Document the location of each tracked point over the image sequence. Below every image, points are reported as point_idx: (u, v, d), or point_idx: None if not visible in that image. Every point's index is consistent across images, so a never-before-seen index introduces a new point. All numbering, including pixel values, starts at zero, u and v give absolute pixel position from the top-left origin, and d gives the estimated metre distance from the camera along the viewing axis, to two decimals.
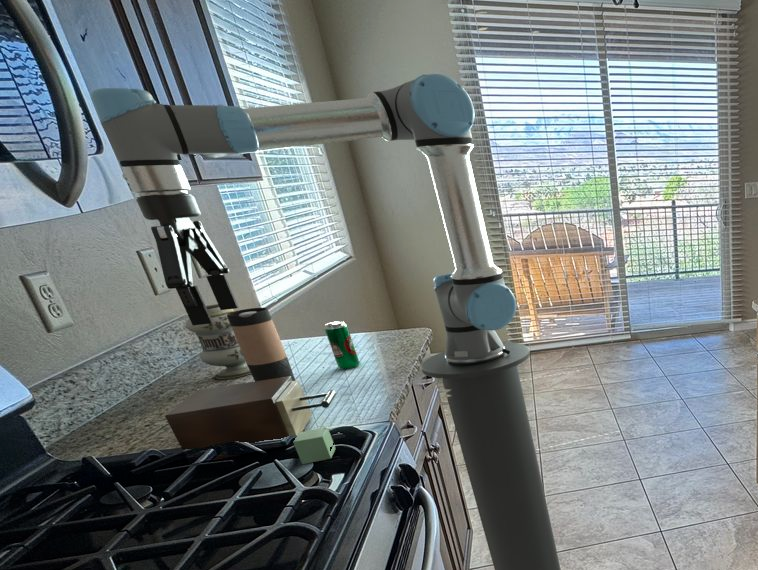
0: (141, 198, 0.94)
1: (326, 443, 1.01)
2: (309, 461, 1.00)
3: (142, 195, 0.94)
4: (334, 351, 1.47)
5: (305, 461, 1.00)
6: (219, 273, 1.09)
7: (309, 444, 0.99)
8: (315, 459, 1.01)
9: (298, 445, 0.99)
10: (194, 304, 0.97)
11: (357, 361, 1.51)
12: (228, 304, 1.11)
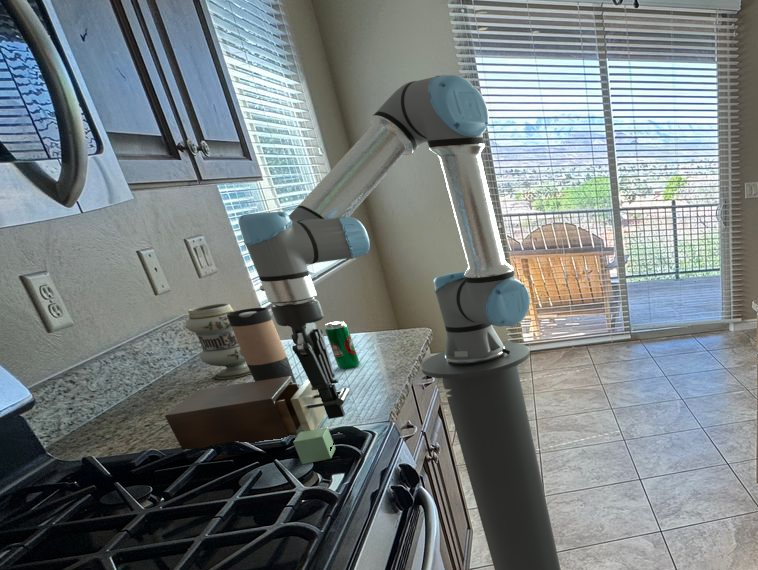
0: (277, 308, 1.02)
1: (326, 443, 1.01)
2: (309, 461, 1.00)
3: (277, 305, 1.02)
4: (334, 351, 1.47)
5: (305, 461, 1.00)
6: None
7: (309, 444, 0.99)
8: (315, 459, 1.01)
9: (298, 445, 0.99)
10: None
11: (357, 361, 1.51)
12: None
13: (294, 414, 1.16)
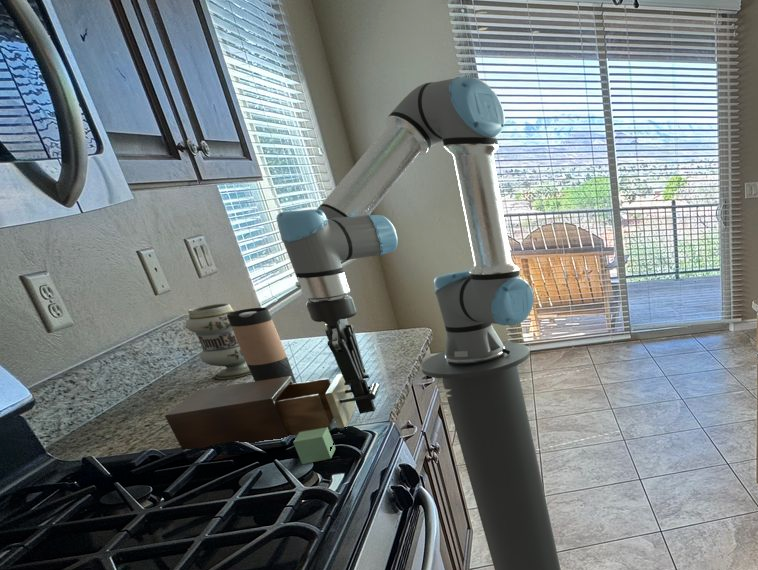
0: (312, 304, 1.04)
1: (326, 443, 1.01)
2: (309, 461, 1.00)
3: (313, 301, 1.04)
4: None
5: (305, 461, 1.00)
6: None
7: (309, 444, 0.99)
8: (315, 459, 1.01)
9: (298, 445, 0.99)
10: None
11: None
12: None
13: (325, 409, 1.18)
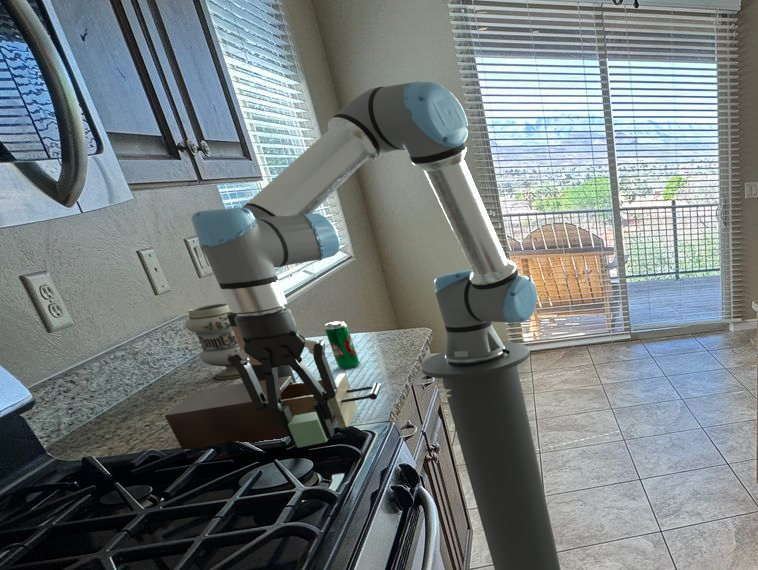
0: None
1: (321, 426, 1.00)
2: (304, 444, 0.99)
3: None
4: (334, 351, 1.47)
5: (300, 444, 0.99)
6: (317, 400, 0.99)
7: (304, 428, 0.98)
8: (310, 442, 0.99)
9: (293, 428, 0.98)
10: (279, 426, 0.98)
11: (357, 361, 1.51)
12: None
13: None
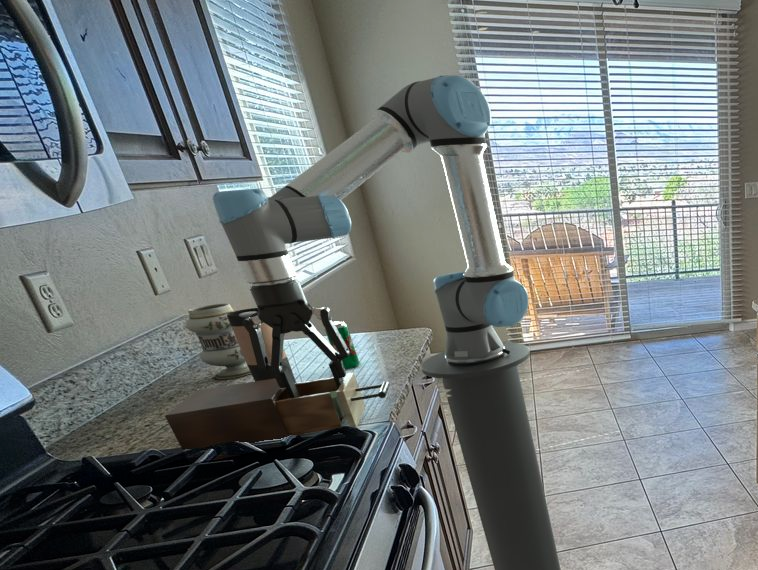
0: None
1: (338, 404, 1.13)
2: None
3: None
4: None
5: None
6: (332, 361, 1.10)
7: None
8: None
9: None
10: (280, 386, 1.09)
11: (357, 361, 1.51)
12: None
13: None
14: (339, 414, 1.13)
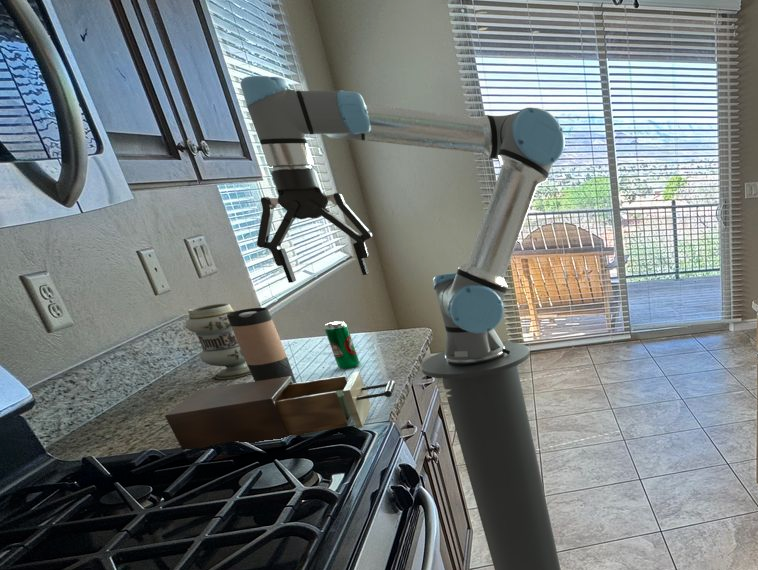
0: None
1: (344, 403, 1.13)
2: None
3: None
4: (334, 351, 1.47)
5: None
6: (357, 241, 1.19)
7: None
8: None
9: None
10: (277, 264, 1.16)
11: (357, 361, 1.51)
12: None
13: None
14: (345, 413, 1.13)
